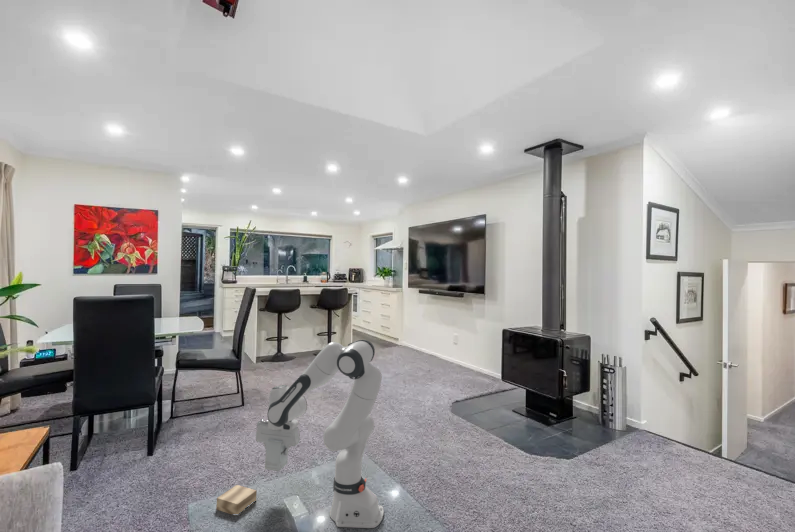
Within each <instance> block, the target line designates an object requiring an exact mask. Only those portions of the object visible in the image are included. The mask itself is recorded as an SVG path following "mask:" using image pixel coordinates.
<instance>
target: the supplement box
mask: <svg viewBox="0 0 795 532" xmlns="http://www.w3.org/2000/svg"><path fill="white" fill-rule="evenodd" d="M286 449H287V448H286V445H283V441H282V440H275V439H268V440H266V449H265V457H264V458H265V459H264V470H266V471H268V470H269V471H273V472H281V470H282V469H283V468H285V466H287V465H288V461H289V459H288V458H289V454H288V455H283V454H284V451H285V450H286Z"/></svg>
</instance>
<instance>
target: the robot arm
mask: <svg viewBox="0 0 795 532" xmlns="http://www.w3.org/2000/svg"><path fill="white" fill-rule="evenodd" d="M375 353H376V351H375V346H374V344H373V343H372V342H371V341H369V340H367V339H359V340H355V341H353V342H351V343H350V342H349V343H348V344H347V346H345V345H343V344H341V343H340V342H337V341H331V342H329V343H327V344H326V345H325V346H324V347H323V348H322V349H321V350H320V351H319V352H318V354H317V355H316V356H315V357H314V359H313V360H312V361H311V362H310V363H309V365H308V367H307V368H305V370H304V371H303V372H302V373H301V375H299V377H298V378H297V379H296V380H295V381H294V382H293V383H292V385H290V386H289V385H286V384H282V385H281V384H280V385H276V386H274V387H272V388H271V389H270V392H269V396H268V409H267V420H264V419H262V420H261V419H260V420H259V421H257V423H256V428H257V429H256V432H255V442H257V443H262V444H263V446H264V449H265V450H266V440H268V439H275V440H282V441H283V445H286V448H287V449H286V450H285V451H284V454H283V455H288V456H289V450H290V449H291V447H297V446H298V445H299V443H300V440H301V435H300V433H301V432H300V427H298V426H299V420H297V418H300V417H302V416H303V415H305V414H306V412H307V410H308V403H307V399H306V398H305V396H304V395H306V394H307V393H309V392H311V391H313V390H315V389H317V388H320V387H322V386H324V385H326V384H327V383H328V382H330V381H331V380H332V379H333V378H334V376H335V375H337V372H338V371H340V372H341V374H343V375H344V376H346V377H348V378H349V379H350V380H354V381H353V383H352V386H351V389H350V392H349V395H348V397H347V399H346V402H345V404H344V406H343V407H342V409H341V410H340V411H339V412H338V415H337V416H336V417H335V419H334V420H333V421H332V422H331V423H330V424H329V426H327V428H325V429H324V431H323V435H322V437H323V438H322V439H323V444H324V445H325V447H326V448H327V450H329V452H338V454H337V456H336V458H335V462H334V465H335V466H334V467H335V469H334V477H333V483H332V484H333V485H332V490H333V495H332V496H333V497H332V504H331V507H330V510H329V517H330V518H331V520H332V521H333V522H334V523H335V525H336V527H338V528H357V529H358V528H359V529H360V528H361V529H374V528H376V527H378V526H379V525H380V524H381V522H382V520H383V519H384V514H385V513H384V507H383V506H382V505H379V500H378V496H377V495H376V494H375V493H374V492H373V491H372V490H371V489H370V488H368V487H367V486H366V485H367V484H366V483H367V478H365V479H364V478H363V476H362V469H363V467H362V466H363V459H364V455H365V454H364V453H365V450H366V447H367V444H368V441H369V438H370V437H371V435H372V434H373V432H374V429H375V421H374V419H373V417H372V416H371V415H370V414H371V412H372V411H373V407H374V405H375V403H376V400H377V397H378V395H379V391H380V388H381V384H382V377H383V375H382V372H381V370H380V369H379V368H377V367H376V366H374V365H372V363H371V362H372V360H373V359H374V357H375Z"/></svg>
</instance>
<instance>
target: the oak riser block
mask: <svg viewBox="0 0 795 532" xmlns="http://www.w3.org/2000/svg"><path fill="white" fill-rule="evenodd" d="M254 501H256V502H257V490H256V489H253V488H249V487H246V486H243V485H239V484H236V485H234V486H233V487H231V488H230V489H229V490H227V491H225V492H224V493H222V494H220V496H217V497H216V507H215V508H216V511H220V512H223V513H226V514H229V515H232V514H239V513H240V512H242V511H243V510H244V509H245V508H246V507H247V506H248V505H250V504H251V503H252V502H254ZM244 511H245V510H244ZM244 511H243V512H244ZM243 512H242V513H243ZM240 514H241V513H240ZM240 514H239V515H240Z"/></svg>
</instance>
